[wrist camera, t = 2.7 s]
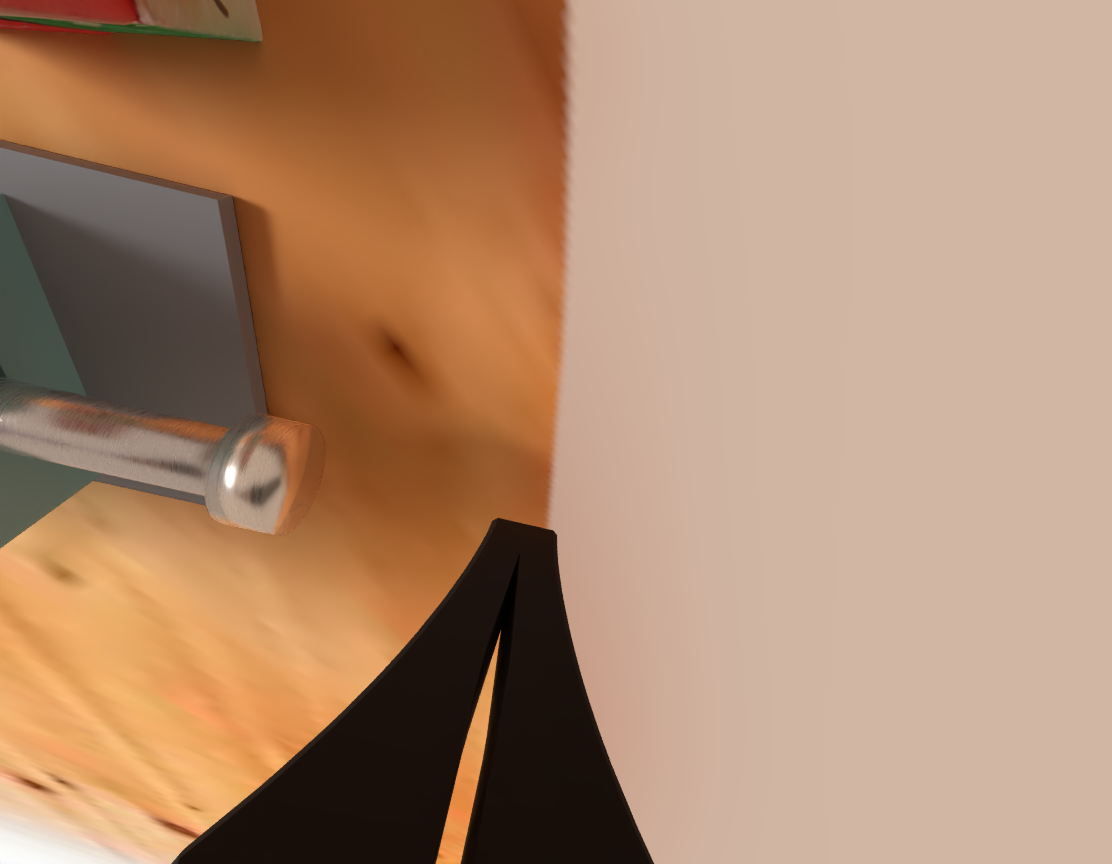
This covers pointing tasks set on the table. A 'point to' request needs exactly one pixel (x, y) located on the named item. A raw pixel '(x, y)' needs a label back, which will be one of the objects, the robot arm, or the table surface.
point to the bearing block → (117, 307)
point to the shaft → (173, 452)
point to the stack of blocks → (137, 17)
